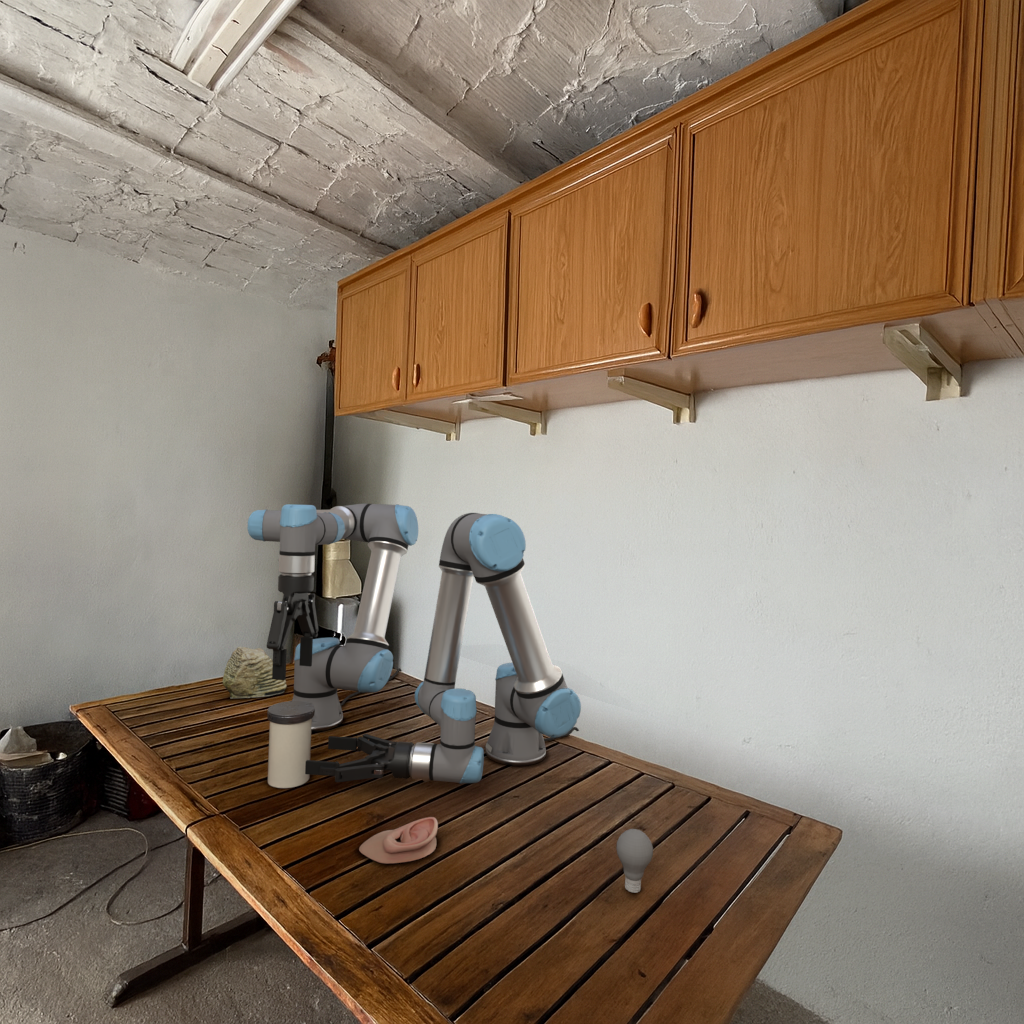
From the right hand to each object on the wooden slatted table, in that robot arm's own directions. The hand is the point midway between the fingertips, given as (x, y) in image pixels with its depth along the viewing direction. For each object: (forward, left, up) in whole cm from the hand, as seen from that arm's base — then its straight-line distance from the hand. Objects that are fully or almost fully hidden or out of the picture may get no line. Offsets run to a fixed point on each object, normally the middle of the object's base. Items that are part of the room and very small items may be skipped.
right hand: (317, 754), depth 140 cm
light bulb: (-47, +55, -6) cm, 72 cm away
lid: (+6, -4, +9) cm, 11 cm away
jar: (+6, -4, -6) cm, 9 cm away
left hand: (+6, -4, +18) cm, 19 cm away
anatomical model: (-12, +31, -6) cm, 34 cm away
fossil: (+14, -68, -6) cm, 69 cm away
